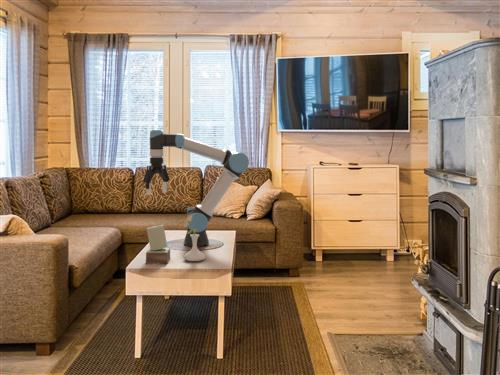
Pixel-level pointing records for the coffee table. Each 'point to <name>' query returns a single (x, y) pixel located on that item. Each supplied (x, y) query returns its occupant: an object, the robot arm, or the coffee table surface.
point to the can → (157, 237)
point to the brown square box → (158, 256)
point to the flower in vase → (194, 252)
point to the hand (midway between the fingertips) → (156, 193)
